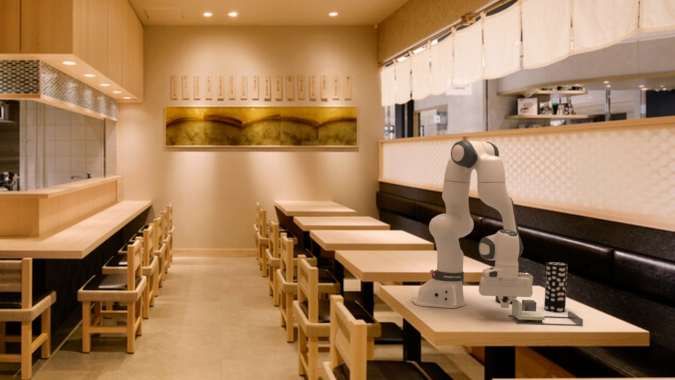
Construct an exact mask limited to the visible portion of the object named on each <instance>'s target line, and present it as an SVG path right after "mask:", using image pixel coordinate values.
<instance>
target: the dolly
mask: <svg viewBox="0 0 675 380" xmlns="http://www.w3.org/2000/svg"><path fill="white" fill-rule="evenodd" d="M511 315H514V317H513V319H517V320H518V322H519V323H525V321H526V320H527V321H528V320H530V321H536V323H543V321H545V319H546V318H545V317H544V316H545V315H543V314H541V313H540V312H539V311H538V310H536V311H522V301H519V300H518V299H517V298H513V300H512V304H511Z"/></svg>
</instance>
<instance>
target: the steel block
mask: <svg viewBox="0 0 675 380" xmlns="http://www.w3.org/2000/svg"><path fill="white" fill-rule="evenodd" d="M521 303H522V309H521V311H537V302H536V301H535V300H534V299H522V300H521Z"/></svg>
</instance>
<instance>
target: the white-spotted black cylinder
mask: <svg viewBox="0 0 675 380" xmlns="http://www.w3.org/2000/svg"><path fill="white" fill-rule="evenodd" d="M545 267H546V269H545V285H544V287H545V289H544V304H543V305H544V306H543V307H544V311H546V312H549V313H556V314H557V313H558V314H560V313H561V314H563V313H566V303H567V301H566V300H567V283H568V267H569V266H568V264H567V263H564V262H559V261H558V262H555V261H548V262H546V266H545Z"/></svg>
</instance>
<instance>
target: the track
mask: <svg viewBox="0 0 675 380" xmlns="http://www.w3.org/2000/svg"><path fill="white" fill-rule="evenodd" d="M507 316H508V317H510V318H514V315H513V314H508V315H507ZM543 316H544V317H545V319H568V320H570V321H571V322H573V323H574V324H573V323H551V322H549V323H545V322H542V323H538V322H524V323H520V322H519V321H518V322H515V323H516V325H534V326H562V327H563V326H566V327H569V326H570V327H583V325H584V318H582V317H580V316H578V315H577V314H575V313H574V312H572V311H567V316H556V315H555V316H551V315H543Z"/></svg>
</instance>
